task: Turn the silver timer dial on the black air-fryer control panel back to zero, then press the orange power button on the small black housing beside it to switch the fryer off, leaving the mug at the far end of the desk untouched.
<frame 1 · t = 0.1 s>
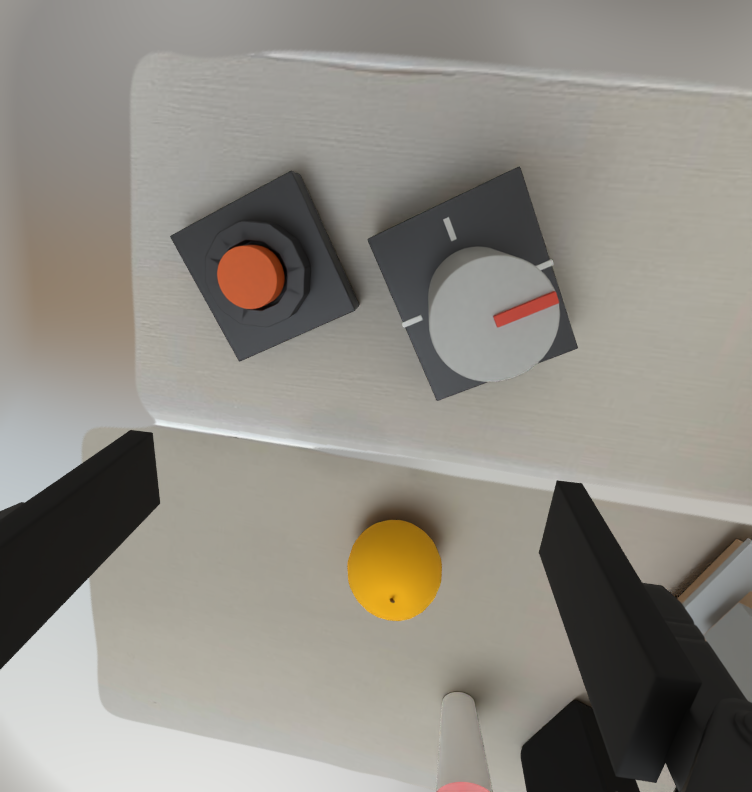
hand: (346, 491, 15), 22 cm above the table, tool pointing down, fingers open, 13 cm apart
electronic device: (562, 729, 48), on the table
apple: (397, 541, 42), on the table
dial panel: (469, 287, 34), on the table
cup: (458, 701, 49), on the table
power button: (251, 276, 30), point 4 cm above the table, slide at 0.1 cm
timer dial: (482, 306, 25), point 9 cm above the table, hinge at 90.0°
power housing: (272, 270, 35), on the table
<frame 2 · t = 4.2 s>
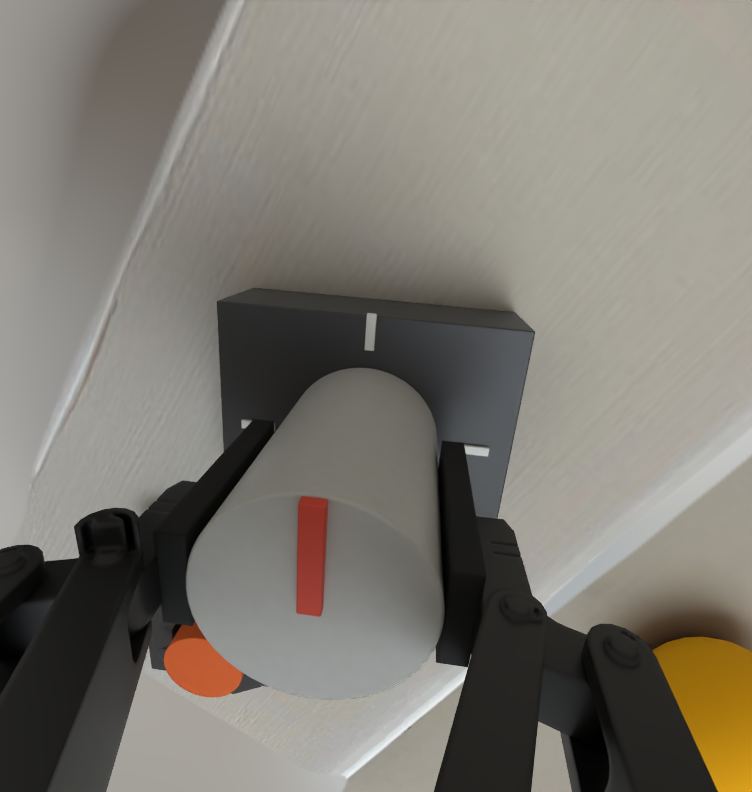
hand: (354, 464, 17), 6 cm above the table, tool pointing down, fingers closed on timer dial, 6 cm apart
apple: (683, 662, 26), on the table
dial panel: (373, 401, 23), on the table
power button: (210, 653, 23), point 4 cm above the table, slide at 0.1 cm
timer dial: (343, 500, 14), point 9 cm above the table, hinge at 90.0°, touching gripper
power housing: (242, 588, 28), on the table
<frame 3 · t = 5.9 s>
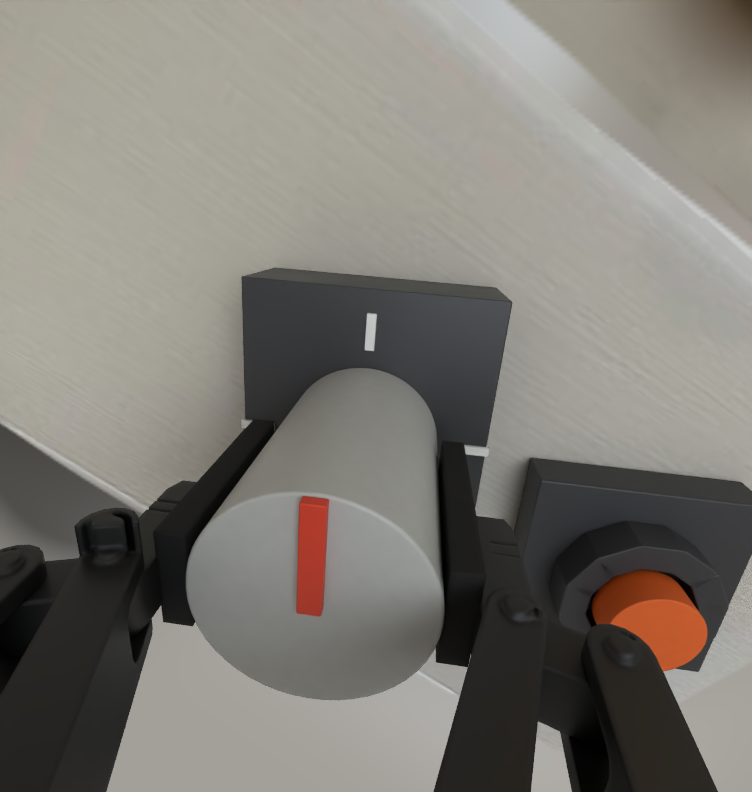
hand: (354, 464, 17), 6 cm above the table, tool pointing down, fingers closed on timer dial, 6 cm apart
dial panel: (373, 402, 23), on the table
power button: (646, 620, 20), point 4 cm above the table, slide at 0.1 cm
timer dial: (343, 500, 14), point 9 cm above the table, hinge at -0.3°, touching gripper
power housing: (608, 552, 24), on the table
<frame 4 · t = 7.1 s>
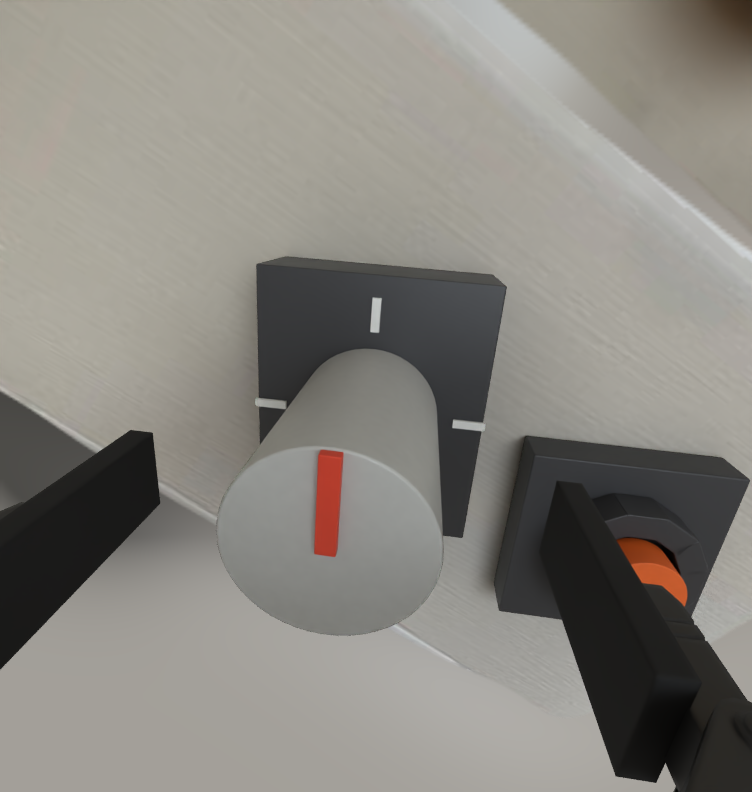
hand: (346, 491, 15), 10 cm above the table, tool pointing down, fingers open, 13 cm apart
dial panel: (377, 383, 24), on the table
power button: (631, 584, 21), point 4 cm above the table, slide at 0.1 cm
timer dial: (352, 466, 16), point 9 cm above the table, hinge at -0.5°
power housing: (598, 525, 26), on the table
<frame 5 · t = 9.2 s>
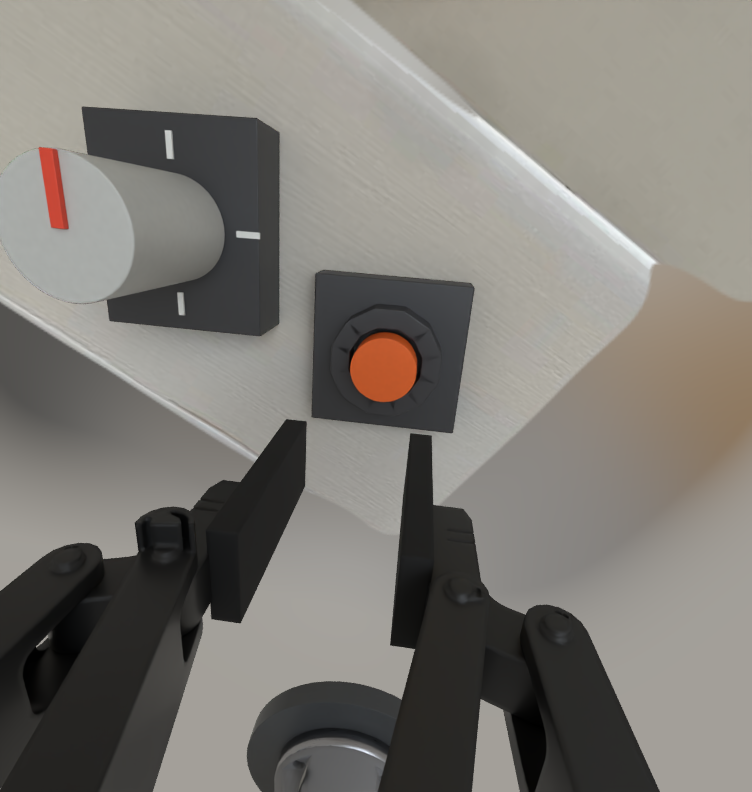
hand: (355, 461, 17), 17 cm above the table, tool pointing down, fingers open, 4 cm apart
dial panel: (206, 228, 31), on the table
power button: (384, 366, 28), point 4 cm above the table, slide at 0.1 cm
timer dial: (128, 229, 23), point 9 cm above the table, hinge at -0.5°
power housing: (389, 348, 32), on the table
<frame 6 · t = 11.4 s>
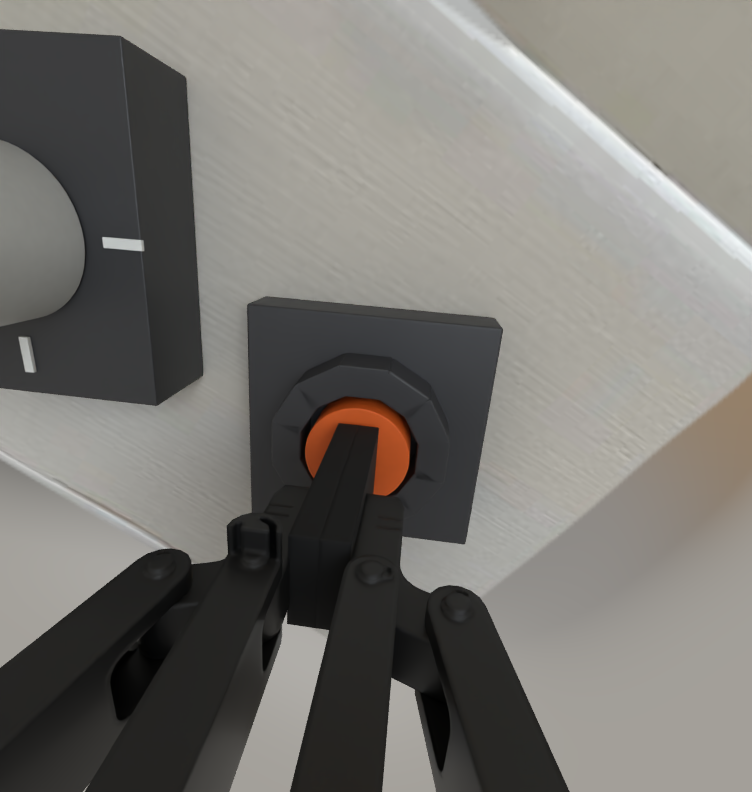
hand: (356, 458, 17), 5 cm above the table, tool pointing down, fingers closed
dial panel: (84, 232, 20), on the table
power button: (359, 447, 18), point 4 cm above the table, slide at -0.9 cm, touching gripper
power housing: (369, 413, 21), on the table
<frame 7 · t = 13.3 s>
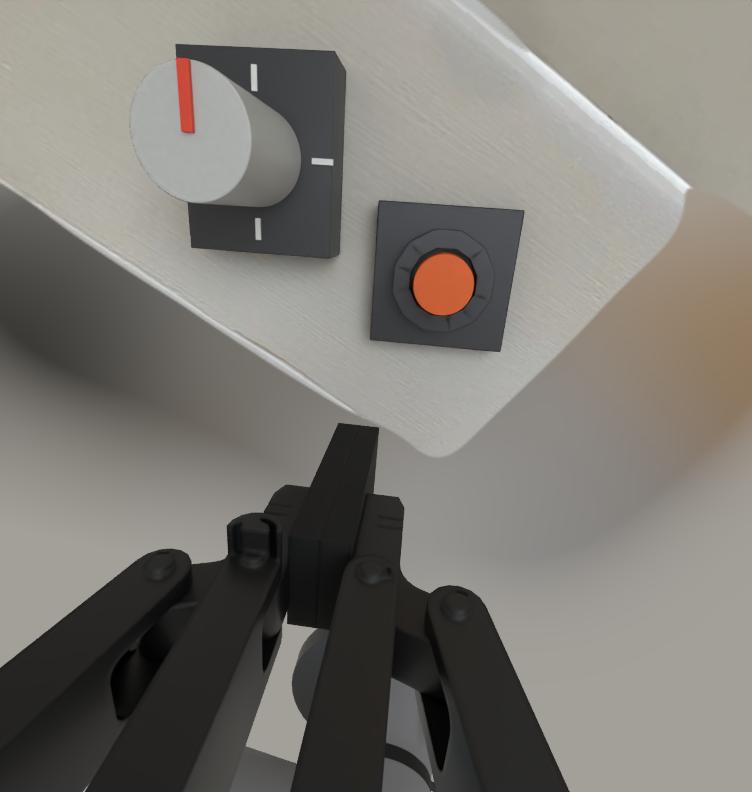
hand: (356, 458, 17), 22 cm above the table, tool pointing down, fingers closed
dial panel: (275, 164, 34), on the table
power button: (443, 283, 31), point 4 cm above the table, slide at 0.1 cm
timer dial: (227, 147, 26), point 9 cm above the table, hinge at -0.5°
power housing: (441, 276, 35), on the table
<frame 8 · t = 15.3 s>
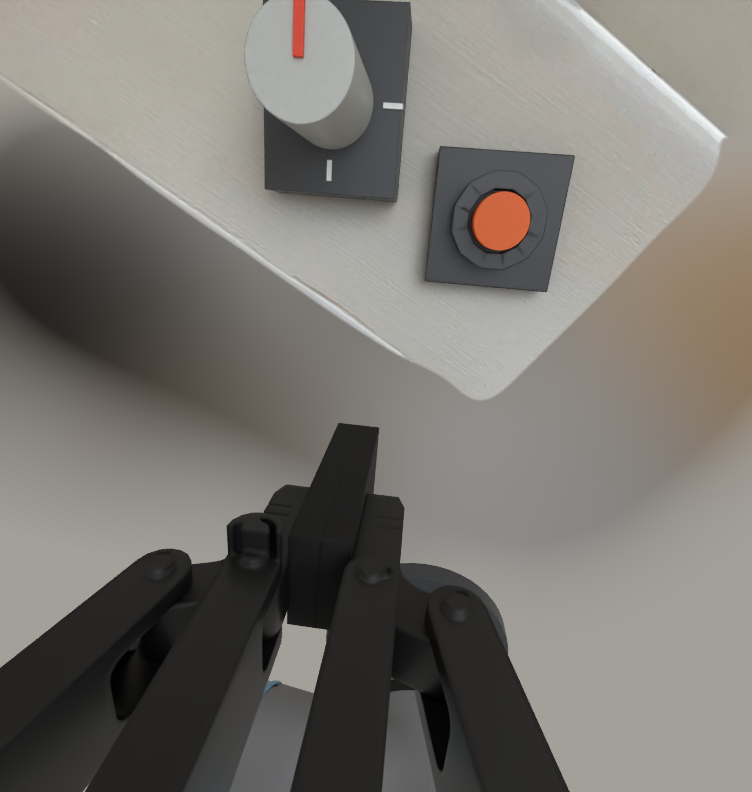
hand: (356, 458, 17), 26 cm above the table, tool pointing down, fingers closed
dial panel: (341, 115, 36), on the table
power button: (500, 221, 34), point 4 cm above the table, slide at 0.1 cm
timer dial: (317, 83, 28), point 9 cm above the table, hinge at -0.5°
power housing: (491, 222, 38), on the table
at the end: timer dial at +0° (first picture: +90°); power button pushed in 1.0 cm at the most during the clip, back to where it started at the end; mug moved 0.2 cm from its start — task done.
